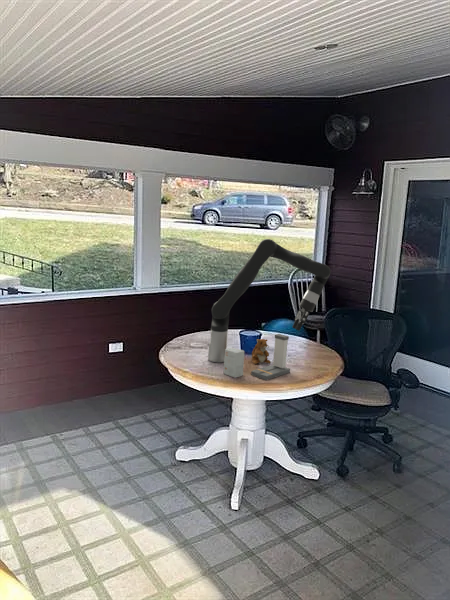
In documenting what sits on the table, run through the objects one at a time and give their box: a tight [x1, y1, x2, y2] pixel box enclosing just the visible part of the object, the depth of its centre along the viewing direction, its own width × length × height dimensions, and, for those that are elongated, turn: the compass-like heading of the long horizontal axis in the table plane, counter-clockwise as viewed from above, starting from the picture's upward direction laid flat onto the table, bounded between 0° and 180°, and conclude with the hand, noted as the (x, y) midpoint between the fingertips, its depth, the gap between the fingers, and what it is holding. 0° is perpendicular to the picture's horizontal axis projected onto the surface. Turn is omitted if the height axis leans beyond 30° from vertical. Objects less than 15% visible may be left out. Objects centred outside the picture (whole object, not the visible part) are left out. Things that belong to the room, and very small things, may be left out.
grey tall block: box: [272, 333, 290, 368], centre depth 261 cm, size 4×6×17 cm, turn 47°
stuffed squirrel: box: [251, 338, 271, 365], centre depth 277 cm, size 10×14×13 cm
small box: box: [223, 347, 245, 378], centre depth 251 cm, size 8×6×13 cm
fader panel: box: [250, 364, 291, 381], centre depth 257 cm, size 20×10×2 cm, turn 137°
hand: (295, 329), depth 256 cm, fingers open, 8 cm apart
